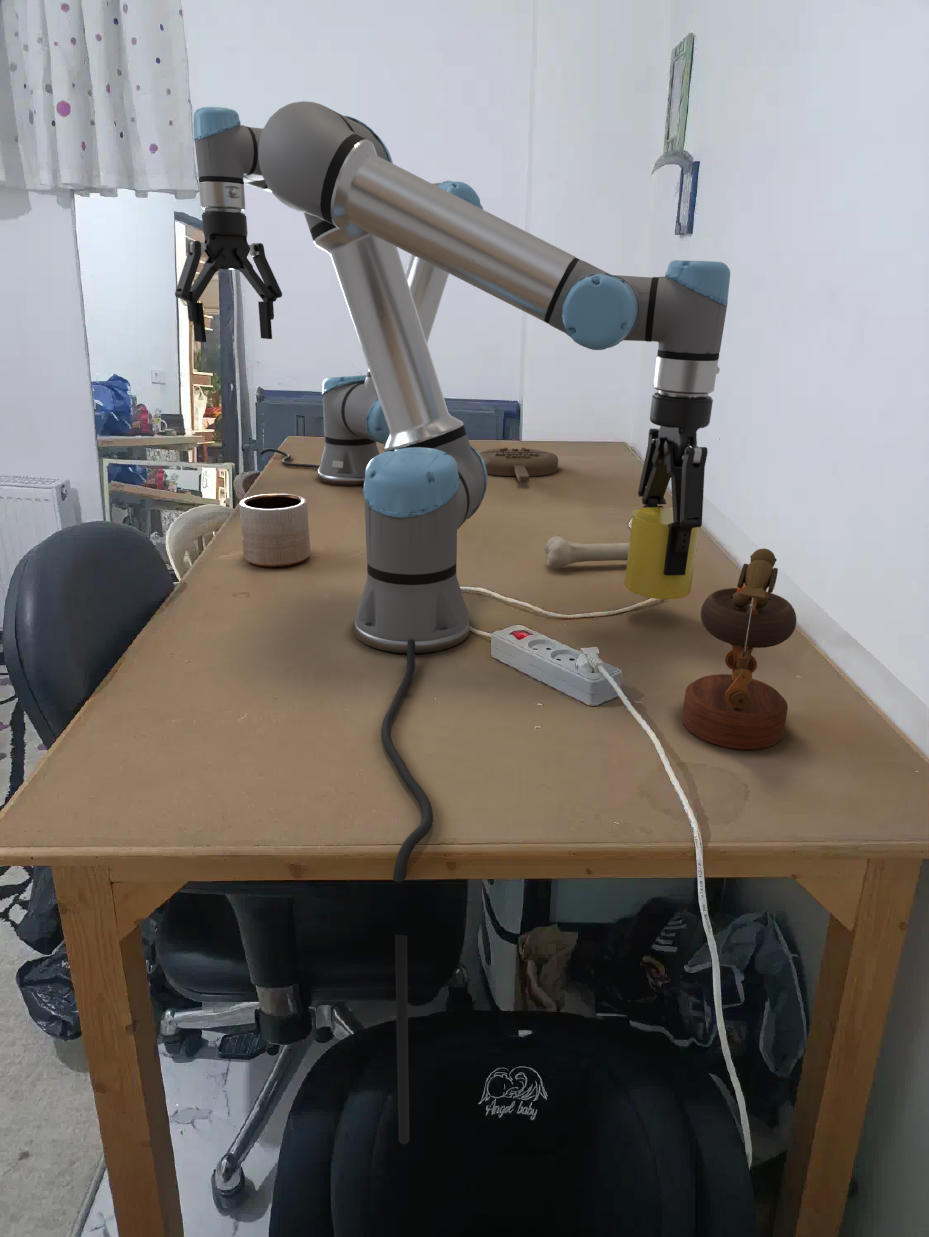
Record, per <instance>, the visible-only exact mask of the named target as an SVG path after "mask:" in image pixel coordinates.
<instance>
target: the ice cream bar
mask: <svg viewBox="0 0 929 1237" xmlns="http://www.w3.org/2000/svg"><path fill="white" fill-rule="evenodd" d="M478 453H479V454H480V456H481V457H482V459H483V461H484V464H485V467H486V470H487V475H490V476H491V475H493V476H502V477H516V478H517V480H518V482H520V483H521V482H522V483H528V482H530V477H538V476H546V475H551V474H554V473H556V472H557V471H558V470H559V457H558V455H557V454H555V453H553V452H548V451H545V450H540V449H535V448H526V447H521V448H517V447H516V448H513V447H512V448H510V449H509V448H508V447H502V448H501V447H500V448H491V449H488V450H484V451H480V452H478Z"/></svg>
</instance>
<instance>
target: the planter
mask: <svg viewBox="0 0 929 1237" xmlns="http://www.w3.org/2000/svg"><path fill="white" fill-rule="evenodd" d="M239 515H240V526H241V541H242V542H241V543H242V555H243V558H244V560H246V561H247V562H248V563H250V564H252V565H254V566H257V567H258V566H259V567H265V568H266V567H268V568H282V567H289V566H293V565H297V564H300V563H302V562H303V561H305V560H307V559H308V558H309V557H310V555H311V540H310V526H309V512H308V500H307V499H306V498H305V497H303V496H301V495H296V494H290V493H267V494H265V493H264V494H258V495H253V496H249V497H246V498H244V499H242V500H240V502H239Z"/></svg>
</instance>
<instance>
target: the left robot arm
mask: <svg viewBox="0 0 929 1237" xmlns="http://www.w3.org/2000/svg"><path fill="white" fill-rule="evenodd" d="M262 131H263V128H261V127H253V126H252V127H251V126H247V125H243V124H241V120H240V115H239V113H238V112H237V111H236V110H235V109H232V108H231V109H230V108H228V107H221V106H204V107H199V108H198V109H196V110H195V111H194V113H193V141H194V146H195V147H194V148H195V158H196V165H197V166H196V167H197V174H198V188H199V201H200V208H201V209H202V210H204V212H202V214H201V222H202V223H201V224H202V231H203V235H204V242H201V241H200V240H189V241H188V242H187V255H186V258H185V261H184V264H183V268H182V271H181V273H180V277H179V279H178V283H177V286H176V289H175V292H174V296H175V297H176V298H177V299H181V300H183V302H185V303H186V309H187V318H188V321H189V322H191V323H192V327H193V334H194V342H198V343H207V333H206V324H205V311H204V303H203V302H199V300H200V298H201V297H202V295H203V293H205V290H206V289H207V288H208V285H209V284H210V282H211V281H212V279H213V277H214V276H215V274H216V273H217V272H218V271H219V270H231V271H232V270H235V271H238V272H240V273H241V274H242V275H243V276H244V278H245V279H246V280H247V282H248V283H249V285H251V287H252V288H253V289H254V291H255V292H256V293H257V295H258V297H260V299H261V300H262V301H261V300H260V301H258V302H257V303H258V317H259V334H260V339H264V340H273V329H272V328H273V327H272V321H273V320H274V318H275V312H274V310H275V309H274V302H277V299H279V298H282V297H283V291H282V290H281V288H280V285H279V283H278V281H277V279H276V276H275V275H274V272H273V270H272V267H271V265H270V264H269V261H268V259H267V257H266V252H265V246H264V244H263V243H261V242H253V243H251V244H249V242H248V220H247V219H248V218H247V215H246V214H245V213H244V212H243V211H245V210H246V198H245V185H246V186H250V187H253V188H257V189H260V190H263V191H267V192H269V193H272V192H271V190H270V189H269V188H268V186H267V184H266V182H265V180H264V178H263V176H262V172H261V169H260V165H259V158H258V148H259V141H260V136H261V133H262ZM432 184H434V185H436V186H437V187H439V188H441V189H443V190H445V191H447V192H449V193H451V194H453V195H455V196H457V197H459V198H461V199H463V200H465V201H467V202H469V203H471V204H473V205H475V206H477V207H479V208H481V209H483V210H484V207H483V205H482V204H481V199H480V196H479V195H478V192H476V191H475V189H474V188H473V187H472V186H471V185H469V184H467V183H466V182H464V181H454V180H445V181H442V182H434V183H432ZM204 253H205V254H206V256H207V259H206V260H205V262H204V263H203V265H202V269H201V270H200V272H199V274H198V275H197V277H196V278H195V276H196V274H197V271H198V268H199V265H200V261H201V257H202V255H203V254H204ZM249 255H250V256H251V257H252V260H253V262H254V264H255V267H256V269H257V271H258V272H256V270H255V268H254V265H253V264H252V263H251V262H250V260H249V259H248V256H249ZM410 255H411V256H410V258H409V261H408V264H407V268H406V271H405V275H406V278H407V281H408V284H409V288H410V291H411V294H412V297H413V300H414V304H415V307H416V310H417V313H418V316H419V320H420V323H421V326H422V329H423V332H424V336H425V339H426V342H427V344H428V342H429V339H430V336H431V333H432V330H433V327H434V324H435V320H436V317H437V314H438V310H439V307H440V305H441V301H442V298H443V294H444V293H445V292H444V291H445V289H446V286H447V282H448V278H449V276H450V274H449V273H447V272H445V271H443V270H442V269H440V268H438V267H436V266H434V265H432V264H430V263H428V262H426V261H424V260H422V259H420V258H418V257H416V256H414V255H412V254H410ZM258 273H259V274H258ZM321 399H322V412H323V413H322V414H323V415H322V416H323V432H324V434H323V435H324V448H323V451H322V456H321V459H320V464H312V463H296V462H295V463H294V462H288V461H289V460H290V459H291V457H292V456H291V454H290V453H287V452H285V451H284V450H283V451H282V450H280V449H276V448H271V447H270V448H269V447H268V448H265V449H263V450H261V452H260V453H259V455H261V456H262V455H265V453H269V452H272V453H277V454H280V455H282V456H284V458H282V460H281V464H282V465H284V466H288V467H294V468H295V467H297V468H298V467H299V468H311V469H312V468H313V469H317V475H318V476H317V477H318V480H319V481H320V482H322V483H325V484H327V485H328V484H329V485H336V486H364V482H365V471H366V467H367V465H368V463H369V462H370V461H371V460H372V459H373V458H374V457H376V456H377V455H379V454H380V450H379V449H378V445H377V443H379V444H382V445H384V444H386V442H387V440H388V438H389V434H390V431H389V428H388V425H387V422H386V419H385V416H384V413H383V410H382V407H381V404H380V401H379V398H378V395H377V392H376V389H375V386H374V383H373V380H372V377H371V374H370V371H369V369H368V370H367V373H366V374H361V375H347V376H331V377H326V378H325V379H324V380H323V381H322V388H321Z"/></svg>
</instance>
